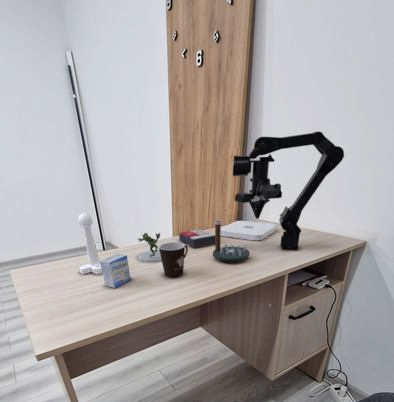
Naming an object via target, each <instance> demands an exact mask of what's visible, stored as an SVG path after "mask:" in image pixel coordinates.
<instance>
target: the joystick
mask: <svg viewBox="0 0 394 402" xmlns="http://www.w3.org/2000/svg"><path fill="white" fill-rule="evenodd" d="M77 221H78V224H79V225H80V227H82V229H83V233H84V240H85V246H86V253H87V258H88V263H86V264H83V265H80V266H78V269H79V273H80V274H81V275H86V274H89V273H93V274H94V275H103V273H102V269H101V264H100V261H101V260H100V257H99V254H98V251H97V246H96V243H95V239H94V235H93V232H92V229H91V226H92V225H93V218H92V217H91V216H90V214H88V213H81V214H79V216H78V218H77Z"/></svg>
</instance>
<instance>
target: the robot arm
mask: <svg viewBox="0 0 394 402" xmlns="http://www.w3.org/2000/svg"><path fill="white" fill-rule="evenodd" d="M305 146H306V147H307V146H314V148H315V149H316V150H317V151H318V152H319V154H320V155H321V156H320V158H319V160H318V163H317V165H316V168H315V170H314V172H313V174H312V175H311V177H310V178H309V179H308V181H307V183H306V184H305V186H304V187H303V188H302V190H301V192H300V193H299V195H298V196H297V198H295V200H294V202H293V204H291V205H290V206H289V207H288V206H285V207H284V209H283V211H282V212H281V213H280V214H279V218H278V219H279V220H278V221H279V225H280V227H281V229H282V230H283V231H282V235H281V236H280V243H279V245H280V248H281V250H282V251H283V250H284V251H286V250H287V251H298V250H299V242H300V235H301V232H302V229H301V228H300V227H299V225H298V223H299V220H300V218H301V214H302V212H303V210H304V208H305V207H306V206H307V204H308V203H309V202H310V200H311V198H312V197H313V196H314V194H315V193H316V191H317V190H318V189H319V187H320V186H321V184H322V183H323V181H324V180H325V179H326V177H327V176H328V175H329V174H330V173H331V172H333V171H334V170H335V168H336V167H337V166H339V164H341V162H342V161H343V160H344V158H345V151H344V149H343V147H342V146H338V145H335V144H334V143H333V142H332V141H331V140H330V139H329V138H327V137H326V136H325V134H324V133H323V132H322V131H317V130H316V131H314V132H310V133H302V134H296V135H289V136H282V137H278V136H260V137H258V138H256V139H255V141H254V143H253V148H252V150H251V151H250V152H249V154H248V155H233V164H232V177H248V176H249V174H251V173H252V175H251V177H252V178H249V182H250V183H251V189H249V192H245V191H244V192H243V191H242V192H236V194H235V195H234V201H235V202H237V203H241V204H246V203H249V205H250V208H251V209H252V213H253V216H254V218H255V219H260V218H261V217H260V216H261V214H262V212H263V209H264V207H265V205H266V204H267V203H269V202H271V199H273V200H275V199H282V197H283V192H282V184H281V183H274V184H271V178H269V168H270V167H269V166H270V163H274V162H275V159H274V158H273V156H272V153H274V152H277V151H280V150H284V149H293V148H298V147H305ZM265 155H267V156H265ZM257 157H259V158H258V159H257Z"/></svg>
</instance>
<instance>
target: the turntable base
mask: <svg viewBox="0 0 394 402" xmlns="http://www.w3.org/2000/svg"><path fill="white" fill-rule="evenodd" d="M217 260H218V261H220V262H222V263H227V264H236V263H241V262H242V261H244V260H245V259H243V260H238V261H224V260H219V259H217Z"/></svg>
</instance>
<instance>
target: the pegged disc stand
mask: <svg viewBox="0 0 394 402" xmlns="http://www.w3.org/2000/svg"><path fill="white" fill-rule="evenodd" d="M221 225H222V221H220V220H215V221H214V235H215V244H214V250H213V251H212V257H213V258H214V259H216V260H218V259H219V260H224V261H238V260H243V259H244V260H246V259H248V258H249V257H250V254H251V253H250V250H248V249H247V246H246V245H244V246H243V247H241V246H240V245H239V244H237V246H234V244H231V245H230V246H228V244H227V243H225V244H224V246H222V247H221V235H220V233H221V228H222V227H221ZM219 260H218V261H219ZM244 260H243V261H244Z"/></svg>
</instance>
